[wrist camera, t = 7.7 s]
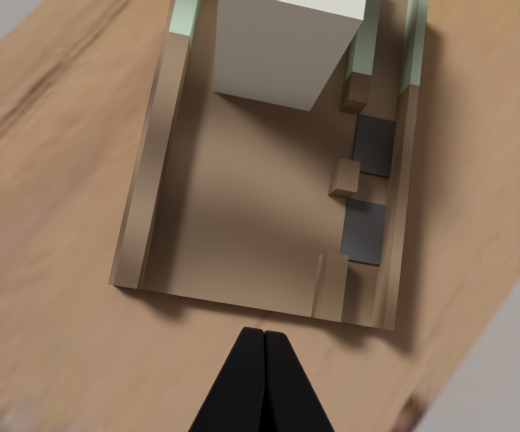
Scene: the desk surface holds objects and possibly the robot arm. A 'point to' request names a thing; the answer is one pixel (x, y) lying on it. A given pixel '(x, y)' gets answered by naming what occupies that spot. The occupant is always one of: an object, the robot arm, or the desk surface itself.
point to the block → (282, 47)
